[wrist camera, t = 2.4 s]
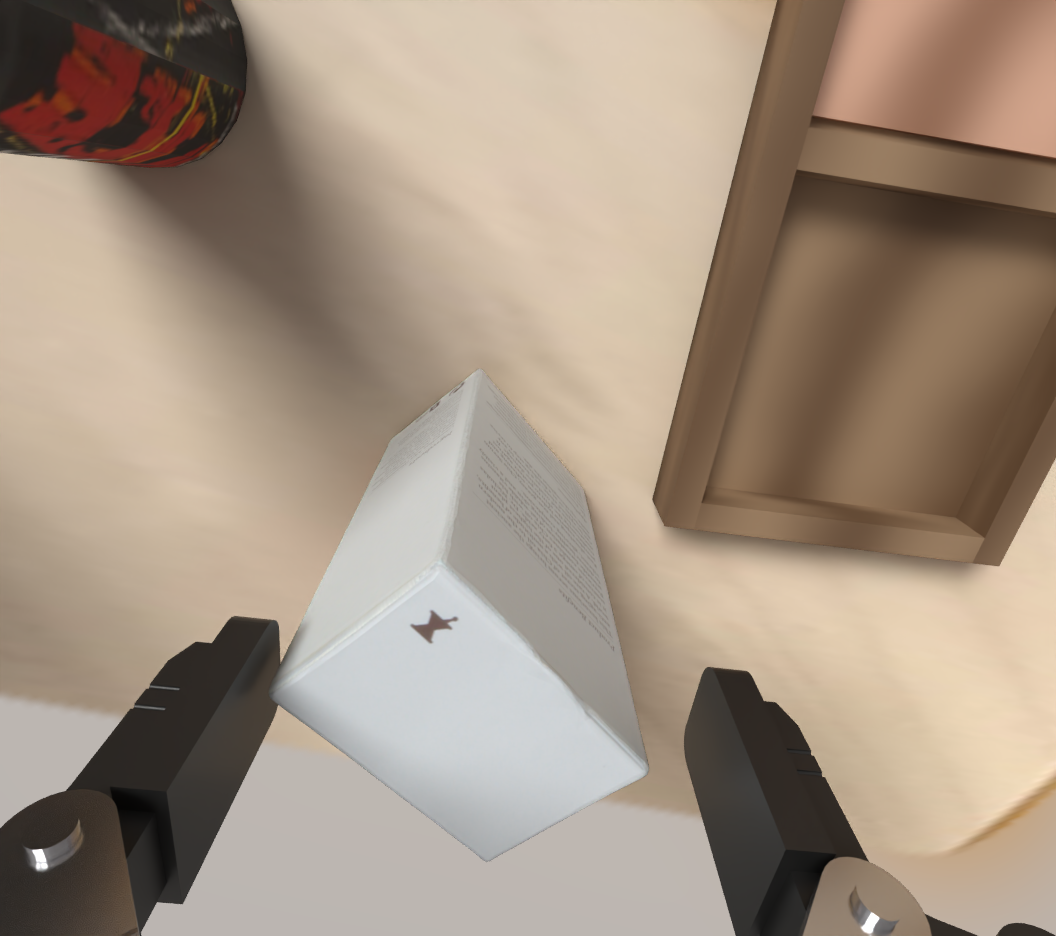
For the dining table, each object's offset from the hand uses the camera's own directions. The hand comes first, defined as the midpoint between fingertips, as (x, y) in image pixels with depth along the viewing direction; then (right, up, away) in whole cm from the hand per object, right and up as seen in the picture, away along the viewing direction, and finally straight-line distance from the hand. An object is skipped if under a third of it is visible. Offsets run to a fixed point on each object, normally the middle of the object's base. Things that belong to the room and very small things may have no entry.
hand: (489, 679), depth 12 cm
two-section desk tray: (+13, +13, +7) cm, 19 cm away
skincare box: (-1, +4, +10) cm, 11 cm away
